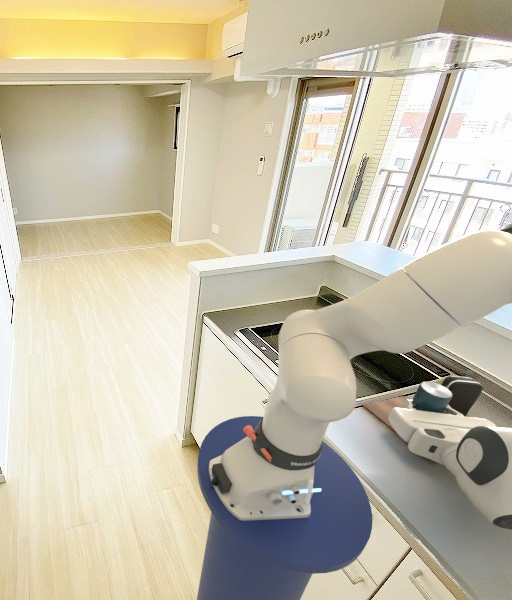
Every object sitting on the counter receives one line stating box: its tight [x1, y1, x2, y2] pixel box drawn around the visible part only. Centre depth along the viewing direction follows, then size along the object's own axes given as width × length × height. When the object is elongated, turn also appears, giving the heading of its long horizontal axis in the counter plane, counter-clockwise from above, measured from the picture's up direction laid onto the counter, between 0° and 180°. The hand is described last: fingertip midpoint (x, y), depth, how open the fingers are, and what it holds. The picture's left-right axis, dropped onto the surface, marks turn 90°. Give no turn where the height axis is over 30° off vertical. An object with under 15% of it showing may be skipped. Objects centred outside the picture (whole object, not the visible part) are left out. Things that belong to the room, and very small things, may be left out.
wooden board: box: [363, 395, 434, 462], centre depth 86 cm, size 14×18×1 cm
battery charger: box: [440, 375, 484, 416], centre depth 88 cm, size 7×4×11 cm, turn 77°
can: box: [411, 381, 453, 413], centre depth 83 cm, size 6×6×12 cm
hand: (425, 403), depth 84 cm, fingers closed on can, 6 cm apart
